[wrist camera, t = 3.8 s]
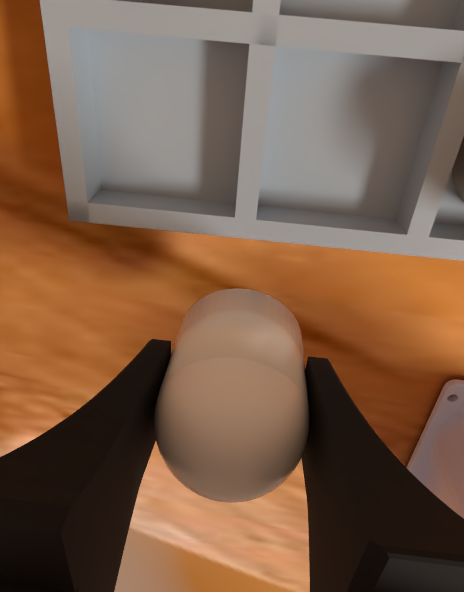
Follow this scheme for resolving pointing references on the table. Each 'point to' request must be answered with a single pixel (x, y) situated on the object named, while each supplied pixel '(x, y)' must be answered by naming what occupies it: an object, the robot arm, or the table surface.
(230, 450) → the light brown egg
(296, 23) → the egg tray
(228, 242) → the table surface
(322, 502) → the robot arm
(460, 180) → the brown egg
